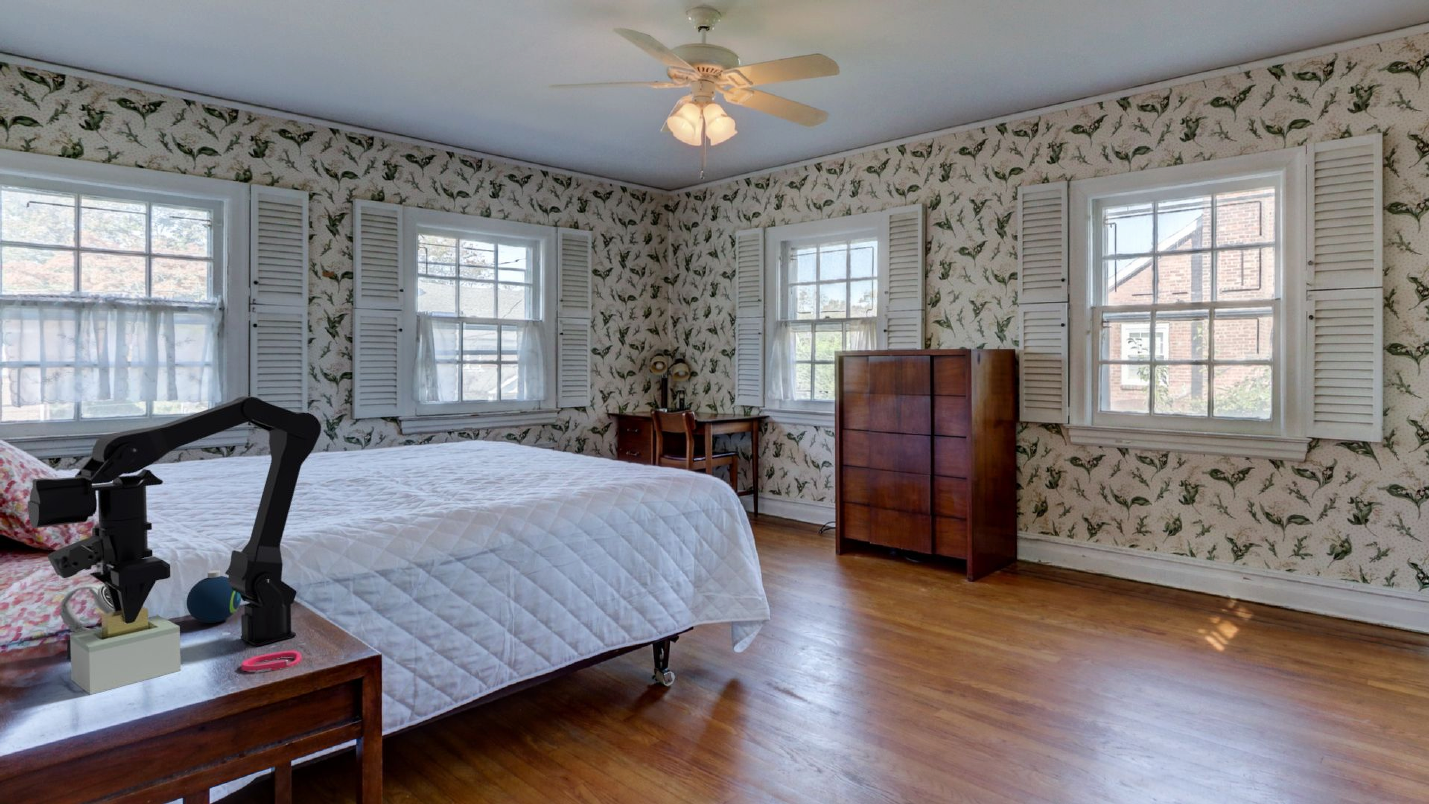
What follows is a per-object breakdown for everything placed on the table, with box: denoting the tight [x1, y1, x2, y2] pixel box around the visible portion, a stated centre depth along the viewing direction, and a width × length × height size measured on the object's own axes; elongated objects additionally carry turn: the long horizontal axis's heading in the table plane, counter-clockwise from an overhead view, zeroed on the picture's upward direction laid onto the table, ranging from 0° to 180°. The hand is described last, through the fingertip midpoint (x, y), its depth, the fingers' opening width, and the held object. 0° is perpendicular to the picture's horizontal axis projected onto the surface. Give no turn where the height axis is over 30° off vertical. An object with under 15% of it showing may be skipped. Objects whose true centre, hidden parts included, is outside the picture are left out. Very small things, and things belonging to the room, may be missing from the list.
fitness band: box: [241, 650, 302, 674], centre depth 118 cm, size 8×6×2 cm
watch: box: [59, 582, 115, 660], centre depth 123 cm, size 6×8×11 cm
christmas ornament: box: [186, 567, 242, 624], centre depth 139 cm, size 8×8×10 cm
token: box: [101, 605, 149, 640], centre depth 114 cm, size 5×2×5 cm, turn 145°
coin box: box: [69, 615, 182, 695], centre depth 114 cm, size 11×9×7 cm
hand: (125, 620), depth 114 cm, fingers open, 3 cm apart
